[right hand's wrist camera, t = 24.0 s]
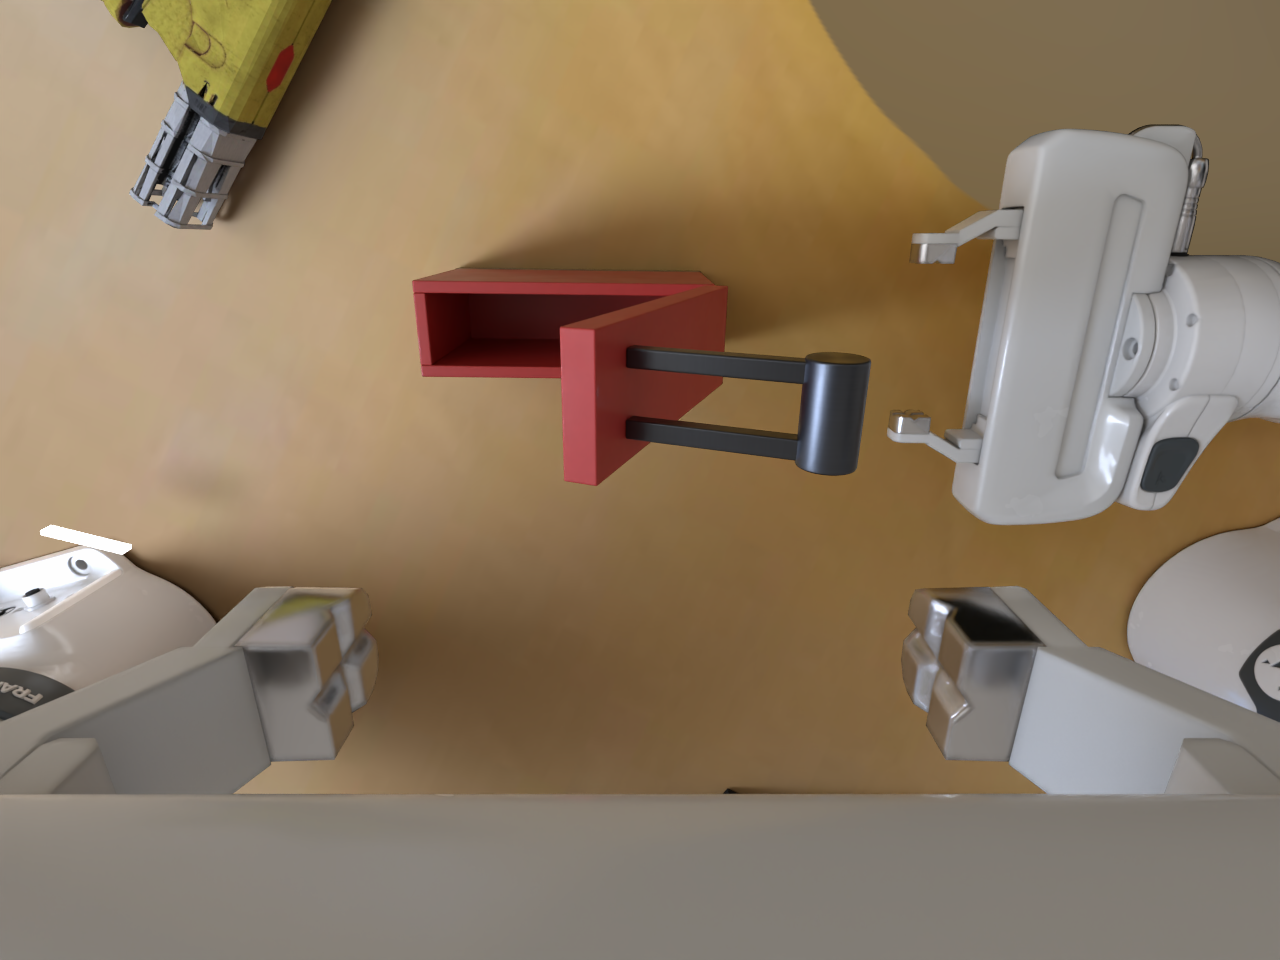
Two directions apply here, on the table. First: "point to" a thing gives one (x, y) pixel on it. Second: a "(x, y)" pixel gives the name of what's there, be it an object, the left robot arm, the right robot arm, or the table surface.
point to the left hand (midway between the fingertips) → (902, 341)
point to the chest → (522, 314)
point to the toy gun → (216, 92)
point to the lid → (694, 389)
